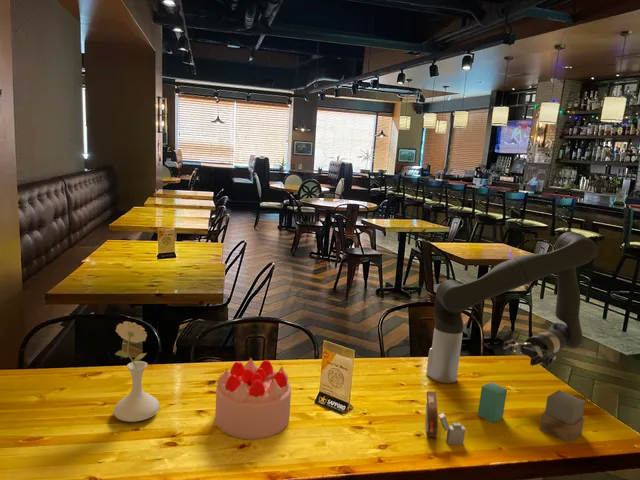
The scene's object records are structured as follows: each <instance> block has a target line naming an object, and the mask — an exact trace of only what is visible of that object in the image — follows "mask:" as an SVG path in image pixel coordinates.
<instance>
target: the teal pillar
mask: <svg viewBox="0 0 640 480" xmlns="http://www.w3.org/2000/svg"><path fill="white" fill-rule="evenodd" d="M480 390H481V391H480V395H479V397H480V398H479V404H478V411H477V416H478V417H480V418H482V419H484V420H486V421H488V422H490V423H491V424H494V425H495V424H496V423H497V422H500V421H501V420H502V419H504V418H503V417H504V413H505V405H506V399H507V394H508V393H507V392H508V389H507V388H506V387H503V386H500V385H499V384H497V383H494V382H492V381H490V382H488V383H486V384H484V385H482V386H481V389H480Z"/></svg>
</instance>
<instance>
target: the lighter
mask: <svg viewBox="0 0 640 480" xmlns="http://www.w3.org/2000/svg"><path fill="white" fill-rule="evenodd" d="M438 417H439V418H438V419H439V421H440V423H441V426H442V429H444V432H446V437H445V438H446V439H445V442H446V443H447V444H448V445H449V446H451V445H452V446H456V445H458V446H462V445H464V443H465V435H466V427H465V426H464V425H463V424H461V423H460V422H453V423H452V425H449V422H448V420H447V417H446V415H445V413H444V412H441V413H440V414H438Z"/></svg>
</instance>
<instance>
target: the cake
mask: <svg viewBox="0 0 640 480" xmlns="http://www.w3.org/2000/svg"><path fill="white" fill-rule="evenodd" d="M215 391H216V393H215V411H214V412H215V414H214V415H215V423H216V426H217V427H218V428H219V429H220V431H222V432H223V433H225V434H227V435H228V436H230V437H233V438H236V439H243V440H249V441H251V440H252V441H253V440H261V439H267V438H271V437H272V436H275V435H277V434H279V433H280V432H282V431H283V430H284V429H285V428H286V427H287V425H288V424H289V421H290V413H291V397H292V386H291V385H290V381H289V375H288V374H287V373H286V372H285V370H284V367H283V366H282V365H281V367H280V368H279V369H278V371H276V370H274V366H273V365H272V362H270V361H269V360H268V359H265V360H263V361H262V362H261V363H260V365H259V366H257V365H256V363H255V362H254V360H253V359H252V357H250V358H249V360H248V361H247V363H245V364H243V363H242V361H240V360H238V361H234V363H233V365H232V366H231V368H230V370H229V371H228V368H225V370H224V372H223V373H222V374H221V375H220V376H219V377H218V379H217V385H216V390H215Z"/></svg>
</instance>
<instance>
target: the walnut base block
mask: <svg viewBox="0 0 640 480" xmlns="http://www.w3.org/2000/svg"><path fill="white" fill-rule="evenodd" d="M584 422H585V417H583V416H582V418H581V419H580V420H578V421H577V422H575V423H574V424H572V425H569V424H567V423H565V422H562V421H560V420H558V419H556V418H554V417H552V416H549V415H547V414H545V411H543V412H542V413H541V417H540V423H539V430H540V431H542V432H544V433H546V434H549V435H550V436H553V437H554V438H557V439H559V440H561V441H563V442H564V443H567V444H569V445H570V443H572V442H574V441H575V440H576V439H577V438H578V437H580V436H582V433H583V428H584V427H583V426H584Z"/></svg>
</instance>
